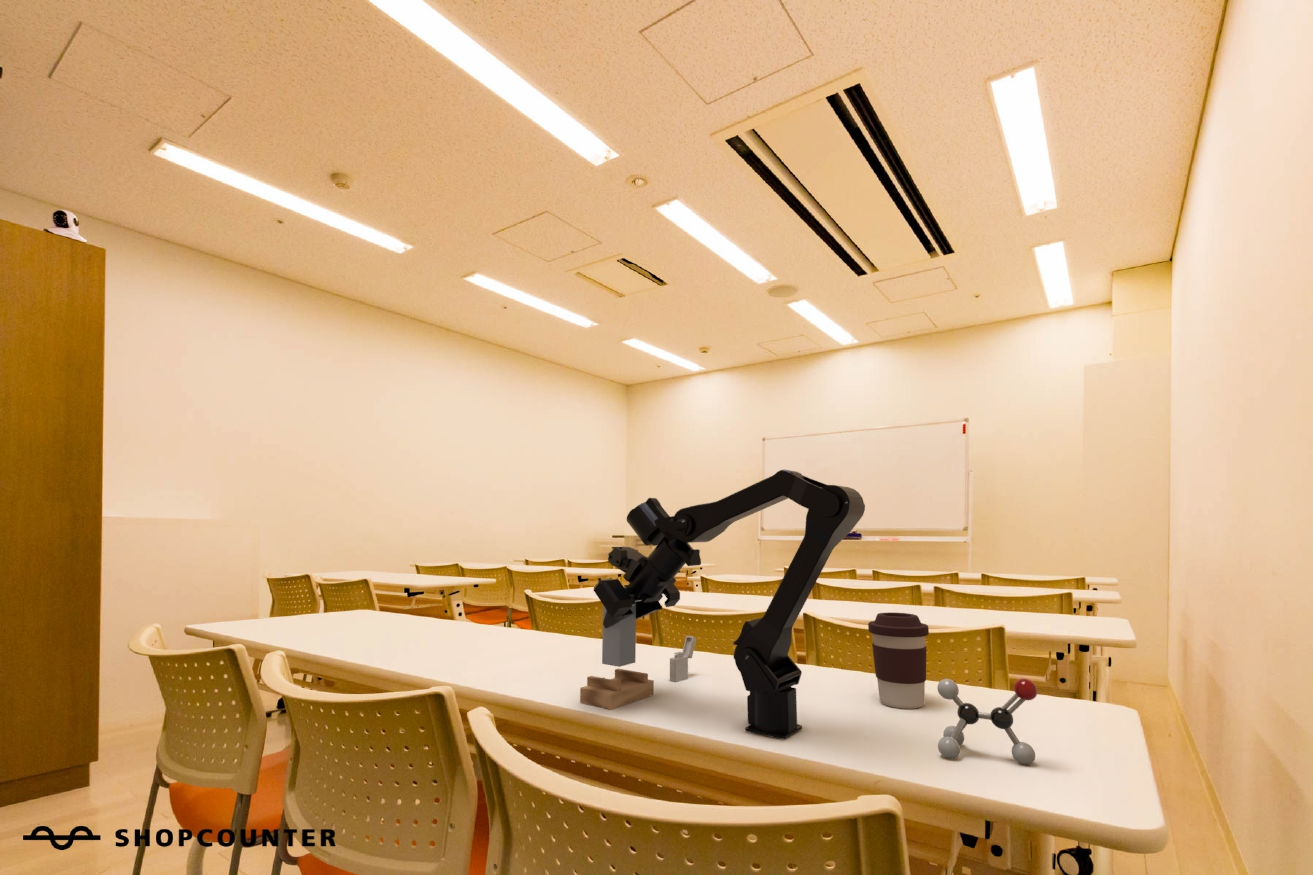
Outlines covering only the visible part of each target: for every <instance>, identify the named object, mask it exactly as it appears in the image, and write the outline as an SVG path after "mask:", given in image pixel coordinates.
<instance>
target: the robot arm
mask: <svg viewBox="0 0 1313 875" xmlns="http://www.w3.org/2000/svg"><path fill="white" fill-rule="evenodd" d="M787 499H789V500H791V501H793V502H794V503H796V504H798V505H799V506H801V507H803V508H806V509H807V513H806V517H805V528H804V530H805V531H804V536H803V538H802V540H801V542H800V545H799V546H798V548H797V550H796V552H795V554H794V556H793V558H792V560H791V562H790V564H789V566H788V567H787V570H786V571H785V573H784V576H783V578H782V579H781V582H780V583H779V585H778V587H777V589H776V591H775V593H774V595H773V597H772V599H771V601H770V603H769V604H768V607H767V608H766V611H765V613H764V615H763V616H762V617H759V618H755V619H751V620H746V621H744V623H743V625H742V628H741V630H740V631H741V632H740V634H739V635H738V638H736V639H735V641H733V643H732V644H733V645H736V646H735V648H734V651H733V660H734V662H735V665H736V669H737V670H738V671H739V673H740V675H741V678H742V681H743V685H744V688H745V691H747V692H749V694H748V695H747V697H746V698H747V700H746V701H747V705H746V706H747V708H746V709H747V723H748V725H747V726H745V728H744V730H745V732H748V733H753V734H756V735H762V736H767V737H771V738H775V739H780V740H786V739H787V738H790V736H792V735H794V734H797V733H798V732H799V731H801V730H803V725H802V724H798V712H797V711H798V710H797V706H798V705H797V704H798V703H797V688H796V687H793V686H797V685H798V684H799V683H800V680H801V677H802V673H803V672H802V670H801V668H799V666H798V665H797V664H796V662H794V661H793V660H792V658H791V657H790V656H789V651H790V648H791V644H792V632H793V626H794V625H795V623H796V621H797V619H798V617H799V615H800V613H801V611H802V609H803V608H804V606H805V604H806V602H807V600H808V598H809V596H810V594H811V592H812V591H813V588H814V587H815V584H816V583H817V581H818V579H819V577H820V575H821V573H822V571H823V569H824V567H825V565H826V563H827V561H828V559H829V557H830V556H831V554H832V552H833V550H834V549H835V547H837V545H839V544H840V543H841V542H842V541H843V540H844V539H845V538H846V537H847V536H848V535H850V533H851V532H852V530H853V529H854V528H855V527H856V525H857V524H858V523H859V521H860V520H861V519H862V517H863V516H864V514H865V510H866V504H865V501H864V499H863V496H862V495H861V493H859V491H857V490H856V488H852V487H849V486H842V485H836V484H826V483H825V482H824V483H823V482H822V481H821V482H820V481H818V480H816V479H813V478H810V477H809V476H805V475H803V474H802V473H801V472H799V471H796V470H789V469H781V470H778V471H777V472H775V473H774V474H773V475H770V476H769V477H766V478H764V479H762V480H760V481H758V482H755V483H753V484H752V485H749V486H747V487H745V488H742V489H740V490H738V491H736V492H734V493H732V494H729V495H727V496H726V497H723V498H721V499H719V500H716V501H712V502H707V503H701V504H696V505H691V506H687V507H683V508H680V509H679V510H677V511H675V514H674V515H672V516H670V515H669V514H668V512H667V511H666V510H665V509H664V507H663V506H662V505H661V502H660V501H659V499H658V498H656V497H648V498H647V500H646V501H644V502H642V503H640V504H638V505H637V506H635V507H634V508H632V509H631V510H629V512H628V513H627V516H626V522H627V523H628V525H629V526H630V527H631V529H632V530H633V531H634V533H635V535H637V537H638V538H639V540H640V541H641V542H642V543H643V544H644V545H645V546H651V545H652V546H654V547H655V548H654V549H652V551H651V553H650V554H649V555H648V556H646V555H645V554H642V553H641V552H639V551H638V550H636V549H634V548H632V547H631V546H615V547H614V548H612V549H611V551H609V553H607V555H608V557H607V562H608V563H609V564H610V565H611V566H612V567H615V568H617V569H618V570H620V571H621V572H623V573H624V574H623V575H622V577H623V579H624V580H625V581H626V582H627V583H628V584H625V585H623V584H622V583H621V581H620V580H619V579H618V578H608V579H607V578H606V579H600V580H598V582H597V583H596V584H595V585H594V586H593V592H594V593H595V595H596V596H597V598H598V599H599V601H600V603H601V604H602V606H603V605H604V607H605V608H606V610H607V612H606V615H605V618H604V621H603V620H602V626H603V625H604V627H605V628H608V627H610V626H612V625H614V624H616V623H618V622H619V621H621V620H623V619H625V618H627V617H629V616H630V615H632V614H633V612H632V611H631V609H630V608H631V607H632V606H633V605H634V604H635V602H636V621H637V620H638V619H641V618H644V617H646V616H648V615H650V614H652V613H655V612H656V613H657V612H658V611H661V610H662V609H663V606H662V604H661V603H660V601H661V599H662V598H663V596H665V599H666V600H664V606H665V607H666V608H669V607H675V606H676V604H678V602H679V601H680V600H681V592H680V590H679V589H678V587H676V585H675V584H676V582H677V579H676V578H675V577H676V576H677V574H678V573H679V572H680V571H681V569H682V568H683V567H684V566H685V565H686V566H688V567H696V566H700V565H701V564H702V559H701V556H700V552H701V551H700V549H697V548H696V549H694V548H693V547H692V545H690V543H692V544H693V543H708V542H710V541H712V540H714V539H715V538H717V537H718V536H719V535H721V534H722V533H724V532H725V531H726V530H727V529H728V528H729V527H730V526H731V525H732V524H733V523H736V522H738V521H740V520H742V519H744V518H747V517H749V516H751V515H754V514H756V513H758V512H760V511H762V510H765V509H767V508H769V507H772V506H775V505H777V504H778V503H780V502H784V501H785V500H787Z"/></svg>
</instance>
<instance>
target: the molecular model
mask: <svg viewBox="0 0 1313 875" xmlns="http://www.w3.org/2000/svg"><path fill="white" fill-rule="evenodd" d="M959 691H960V690H959V686H958V684H957V683H956V682H955V681H954V680H952V679H950V678H944V679H940V681H939V682H938V684H937V692H938V694H939V695H940V697H942V699H945V700H948V701H950V700H951V701H953V702H954V703H955V704H956V705H957V706H958V708H957V712H956V713H957V716H958V718H959V720H958V721H957V723H956V725H948V726H946V727H945V729H944V730H943V734H942V735H943V737H941V738H940V739H939V741H938V743H937V750H938V751H939V753H940V754H941V755H942V757H943V758H945V759H949V760H954V759H956V758H958V757H959V755H960V752H961V747H960V746H962V745H963V744H964V741H965V735H964V732H963V731H964V730H965V728H966V727H967V726H968V725H975V724H976V723H978V721H979V720H980V719H981V720H982V719H983V720H989V721H991V722H992V724H993V725H994V726H995V727H996V728H998V729H1000V730H1004V731H1005V733H1006V735H1007V736H1008V738H1009V739H1010V741H1011V742H1012V744H1013V745H1012V747H1011V755H1012V757H1013V759H1014V760H1015V761H1016V762H1017V763H1018V764H1021V765H1023V766H1028V765H1031V764H1033V762H1035V760H1036V752H1035V750H1034V748H1033V747H1032V745H1030V744H1028V743H1027V742H1024V741H1020V740H1019V738H1018V737H1017V735H1016V734H1015V732H1014V731H1013V729H1012V728H1011V727H1012V726H1013V724H1014V716H1013V713H1014V712H1015V711H1016V710H1017V709H1018V708H1020V706H1022V705H1023V704H1024V702H1026V701H1033V700H1035V698H1036V697H1037V695H1038V688H1037V685H1036V684H1035V682H1034V681H1032V680H1030V679H1028V678H1019V679H1017V680H1016V681H1015V682H1014V684H1013V691H1014V694H1013V696H1011V698H1009V699H1008V700H1007V702H1005V703H1003V705H1002V706H999V707H994V708H993V709H992V710H991V712H982V711H979V709H978V708H977V707H976V706H975V705H974V704H972V703H970V702H963V701H962V700H961V699H960V697H959V696H958V695H959ZM1015 701H1016V702H1015ZM1011 705H1012V706H1011ZM1010 706H1011V707H1010Z"/></svg>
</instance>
